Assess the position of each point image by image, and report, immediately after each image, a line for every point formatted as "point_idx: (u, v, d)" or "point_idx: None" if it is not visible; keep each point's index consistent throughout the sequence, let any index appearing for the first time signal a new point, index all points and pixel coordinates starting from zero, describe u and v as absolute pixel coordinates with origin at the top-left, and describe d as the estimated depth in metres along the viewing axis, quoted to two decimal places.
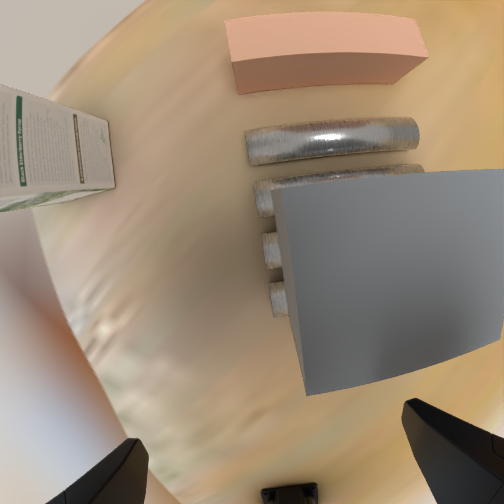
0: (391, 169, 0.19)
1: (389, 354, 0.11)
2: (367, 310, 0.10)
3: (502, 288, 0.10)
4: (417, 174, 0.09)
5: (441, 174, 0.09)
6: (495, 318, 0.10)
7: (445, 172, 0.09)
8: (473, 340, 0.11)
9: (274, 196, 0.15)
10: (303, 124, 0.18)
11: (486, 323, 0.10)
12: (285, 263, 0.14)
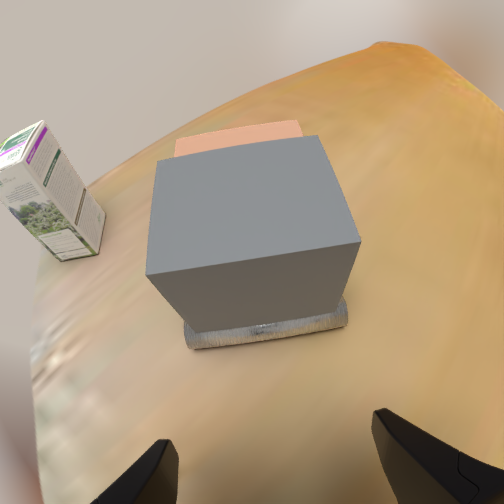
0: None
1: (216, 241, 0.14)
2: (196, 209, 0.15)
3: (337, 197, 0.15)
4: (236, 146, 0.18)
5: (254, 144, 0.18)
6: (339, 220, 0.14)
7: (257, 142, 0.18)
8: (316, 237, 0.14)
9: None
10: None
11: (328, 223, 0.14)
12: None
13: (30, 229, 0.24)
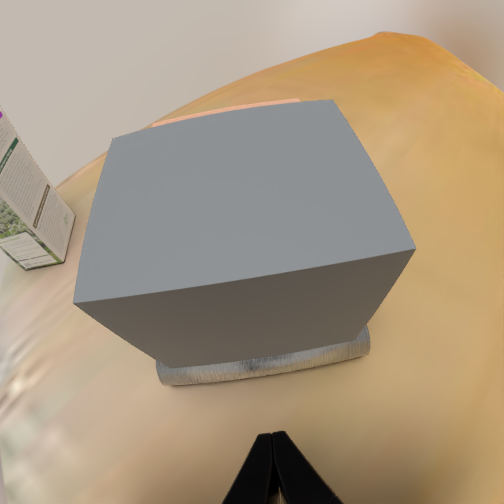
0: None
1: (180, 250, 0.08)
2: (153, 200, 0.10)
3: (372, 180, 0.09)
4: (219, 113, 0.12)
5: (244, 109, 0.12)
6: (380, 214, 0.08)
7: (249, 108, 0.12)
8: (346, 242, 0.08)
9: None
10: None
11: (362, 219, 0.08)
12: None
13: None
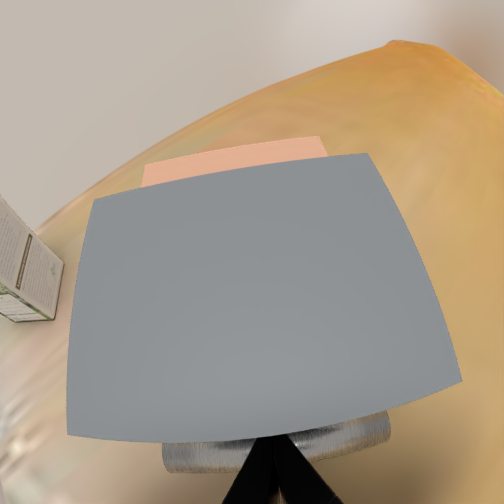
0: None
1: (185, 392, 0.06)
2: (147, 312, 0.07)
3: (420, 286, 0.07)
4: (226, 172, 0.10)
5: (258, 167, 0.10)
6: (428, 339, 0.06)
7: (264, 165, 0.10)
8: (388, 384, 0.06)
9: None
10: None
11: (408, 350, 0.06)
12: None
13: None
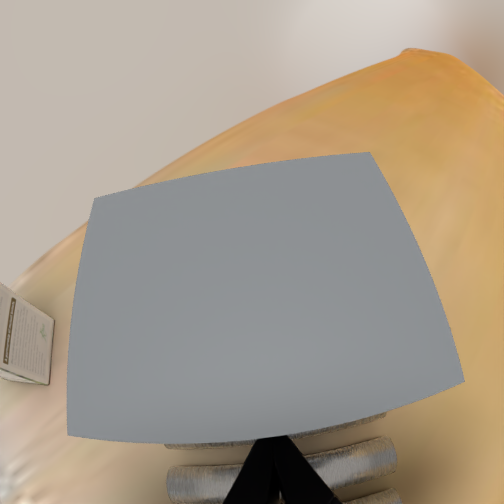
0: None
1: (187, 393, 0.06)
2: (148, 312, 0.07)
3: (423, 287, 0.07)
4: (227, 171, 0.10)
5: (260, 166, 0.10)
6: (430, 339, 0.06)
7: (266, 164, 0.10)
8: (391, 385, 0.06)
9: None
10: None
11: (411, 350, 0.06)
12: None
13: None
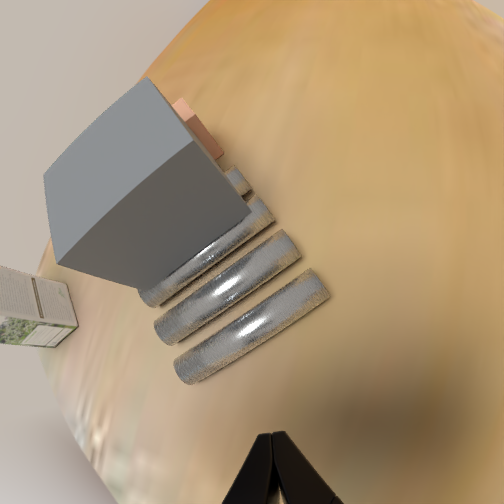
0: None
1: (89, 208, 0.14)
2: (73, 193, 0.15)
3: (167, 116, 0.14)
4: (89, 126, 0.17)
5: (101, 115, 0.17)
6: (172, 133, 0.14)
7: (103, 113, 0.17)
8: (155, 159, 0.14)
9: None
10: None
11: (163, 142, 0.14)
12: None
13: (11, 342, 0.22)
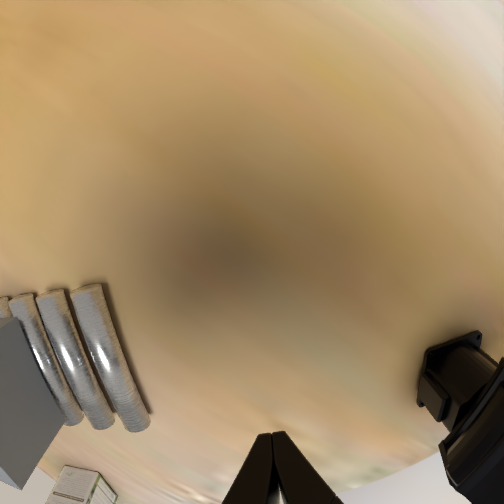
0: None
1: None
2: None
3: None
4: None
5: None
6: None
7: None
8: None
9: None
10: None
11: None
12: None
13: None
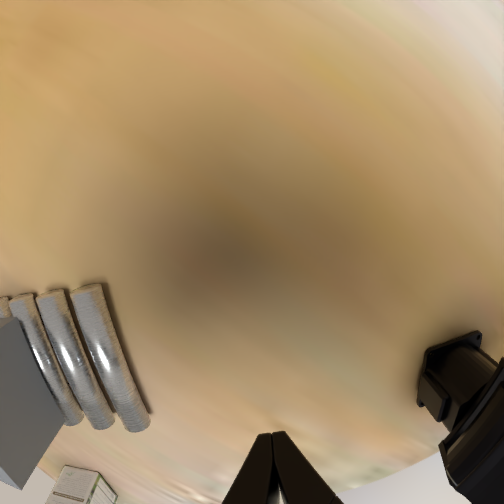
0: None
1: None
2: None
3: None
4: None
5: None
6: None
7: None
8: None
9: None
10: None
11: None
12: None
13: None
